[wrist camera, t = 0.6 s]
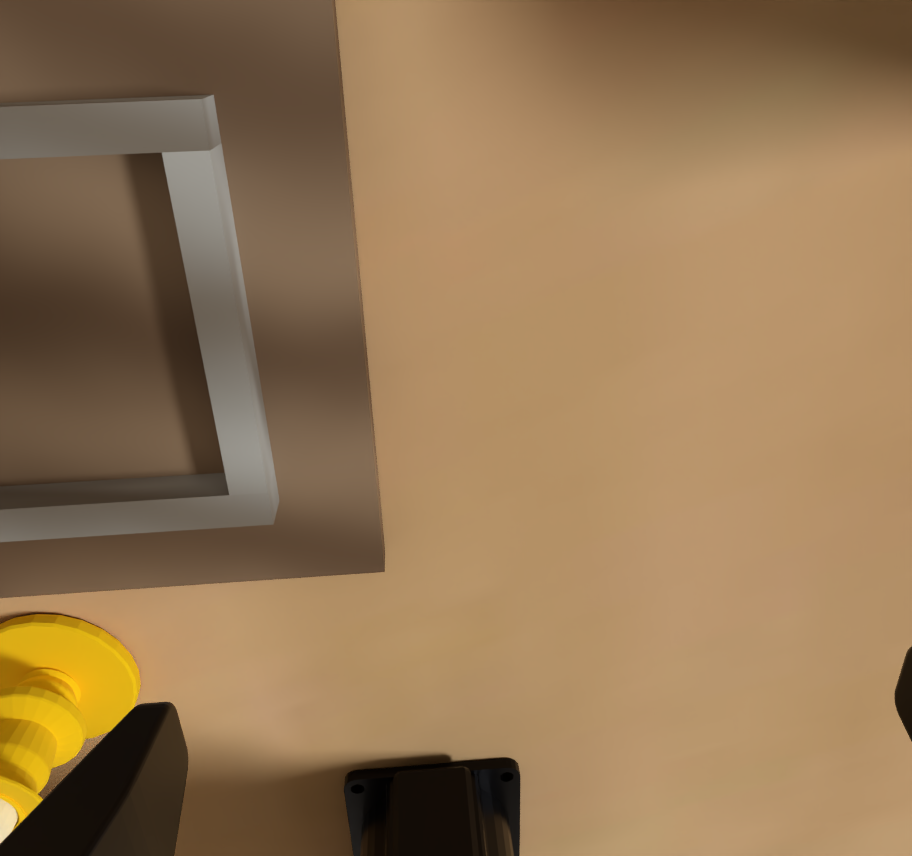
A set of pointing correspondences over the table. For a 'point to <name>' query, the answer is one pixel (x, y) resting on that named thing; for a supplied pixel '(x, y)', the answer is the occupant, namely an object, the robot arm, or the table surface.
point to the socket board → (179, 299)
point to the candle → (54, 701)
